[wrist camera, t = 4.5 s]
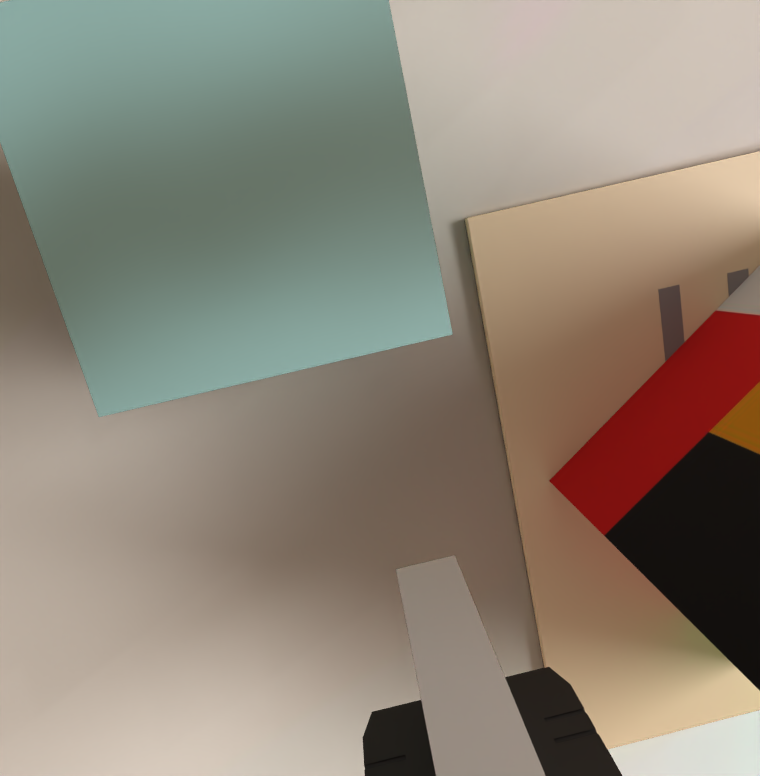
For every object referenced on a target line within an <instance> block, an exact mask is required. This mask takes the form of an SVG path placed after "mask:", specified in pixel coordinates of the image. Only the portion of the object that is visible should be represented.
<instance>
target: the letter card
mask: <svg viewBox="0 0 760 776" xmlns="http://www.w3.org/2000/svg"><path fill="white" fill-rule="evenodd" d="M465 223H466V228H467V234H468V240H469V245H470V251H471V256H472V262H473V268H474V273H475V279H476V285H477V290H478V296H479V302H480V307H481V313H482V319H483V324H484V330H485V336H486V341H487V347H488V353H489V358H490V364H491V369H492V375H493V381H494V386H495V392H496V398H497V403H498V409H499V415H500V420H501V426H502V432H503V437H504V443H505V449H506V454H507V460H508V465H509V471H510V477H511V482H512V488H513V494H514V499H515V505H516V511H517V516H518V522H519V528H520V533H521V539H522V545H523V550H524V556H525V561H526V567H527V573H528V578H529V584H530V590H531V595H532V601H533V607H534V612H535V618H536V624H537V629H538V635H539V641H540V646H541V652H542V658H543V663H544V668H546V667H550V668H551V669H552V670H554V671H555V672H556V673H557V674H559V675H560V676H561V677H562V678H564V679H565V680H566V681H567V682H568V683H570V684H571V686H572V688H573V689H574V691H575V693H576V695H577V696H578V698H579V700H580V702H581V703H582V705H583V707H584V710H585V712H586V713H587V714H588V716H589V718H590V719H591V721H592V723H593V725H594V727H595V728H596V732H597V734H599V735H600V737H601V739H602V741H603V742H604V744H605V746H606V748H607V749H611V748H615V747H618V746H622V745H626V744H630V743H634V742H638V741H642V740H646V739H649V738H653V737H657V736H661V735H665V734H669V733H673V732H676V731H680V730H684V729H688V728H692V727H696V726H700V725H704V724H707V723H711V722H715V721H719V720H723V719H727V718H731V717H734V716H738V715H742V714H746V713H750V712H754V711H758V710H760V691H759V690H758V689H757V688H756V687H755V686H754V685H753V684H752V683H751V682H750V681H749V680H748V679H747V678H746V677H745V676H744V675H743V674H742V673H741V672H740V671H739V670H738V669H737V668H736V667H735V666H734V665H733V664H732V663H731V662H730V661H729V660H728V659H727V658H726V657H725V656H724V655H723V654H722V653H721V652H720V651H719V650H718V649H717V648H716V647H715V646H714V645H713V644H712V643H711V642H710V641H709V640H708V639H707V638H706V637H705V636H704V635H703V634H702V633H701V632H700V631H699V630H698V629H697V628H696V627H695V626H694V625H693V624H692V623H691V622H690V621H689V620H688V619H687V618H686V617H685V616H684V615H683V614H682V613H681V612H680V611H679V610H678V609H677V608H676V607H675V606H674V605H673V604H672V603H671V602H670V601H669V600H668V599H667V598H666V597H665V596H664V595H663V594H662V593H661V592H660V591H659V590H658V589H657V588H656V587H655V586H654V585H653V584H652V583H651V582H650V581H649V580H648V579H647V578H646V577H645V576H644V575H643V574H642V573H641V572H640V571H639V570H638V569H637V568H636V567H635V566H634V565H633V564H632V563H631V562H630V561H629V560H628V559H627V558H626V557H625V556H624V555H623V554H622V553H621V552H620V551H619V550H618V549H617V548H616V547H615V546H614V545H613V544H612V543H611V542H610V541H609V540H608V539H607V538H606V537H605V536H604V535H603V534H602V533H601V532H600V531H599V530H598V529H597V528H596V527H595V526H594V525H593V524H592V523H591V522H590V521H589V520H588V519H587V518H586V517H585V516H584V515H583V514H582V513H581V512H580V511H579V510H578V509H577V508H576V507H575V506H574V505H573V504H572V503H571V502H570V501H569V500H568V499H567V498H566V497H565V496H564V495H563V494H562V493H561V492H560V491H559V490H558V489H557V488H556V487H555V486H554V485H553V484H552V483H551V482H550V481H549V480H550V479H551V478H552V477H553V476H554V475H555V474H556V473H557V472H558V471H559V470H560V469H561V468H562V467H563V466H564V465H565V464H566V463H567V462H568V461H569V460H570V459H571V458H572V457H573V456H574V455H575V454H576V453H577V452H578V451H579V450H580V449H581V448H582V447H583V446H584V445H585V444H586V442H587V441H588V440H589V439H590V438H591V437H592V436H593V435H594V434H595V433H596V432H597V431H598V430H599V429H600V428H601V427H602V426H603V425H604V424H605V423H606V422H607V421H608V420H609V419H610V418H611V417H612V416H613V415H614V414H615V413H616V412H617V411H618V410H619V409H620V408H621V407H622V406H623V405H624V404H625V403H626V402H627V400H628V399H629V398H630V397H631V396H632V395H633V394H634V393H635V392H636V391H637V390H638V389H639V388H640V387H641V386H642V385H643V384H644V383H645V382H646V381H647V380H648V379H649V378H650V377H651V376H652V375H653V374H654V373H655V372H656V371H657V370H658V369H659V368H660V367H661V366H662V365H663V364H664V363H665V362H666V361H667V360H668V359H669V357H670V356H671V355H672V354H673V353H674V352H675V351H676V350H677V349H678V348H679V347H680V346H681V345H682V344H683V343H684V342H685V341H686V340H687V339H688V338H689V337H690V336H691V335H692V334H693V333H694V332H695V331H696V330H697V329H698V328H699V327H700V326H701V325H702V324H703V323H704V322H705V321H706V320H707V319H708V318H709V317H710V315H711V314H712V313H713V312H714V311H715V310H716V309H717V308H718V307H719V306H720V305H721V304H722V303H723V302H724V301H725V300H726V299H727V298H728V297H729V296H730V295H731V294H732V293H733V292H734V291H735V290H736V289H737V288H738V287H739V286H740V285H741V284H742V283H743V282H744V281H745V280H746V279H747V278H748V277H749V276H750V275H751V274H752V272H753V271H754V270H755V269H756V268H757V267H758V266H759V265H760V151H759V152H754V153H750V154H745V155H741V156H737V157H732V158H728V159H723V160H719V161H715V162H710V163H706V164H701V165H697V166H693V167H688V168H684V169H679V170H675V171H671V172H666V173H662V174H657V175H653V176H649V177H644V178H640V179H636V180H631V181H627V182H622V183H618V184H614V185H609V186H605V187H600V188H596V189H592V190H587V191H583V192H578V193H574V194H570V195H565V196H561V197H556V198H552V199H548V200H543V201H539V202H535V203H530V204H526V205H521V206H517V207H513V208H508V209H504V210H499V211H495V212H491V213H486V214H482V215H477V216H473V217H469V218H466V219H465Z"/></svg>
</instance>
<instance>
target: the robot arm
mask: <svg viewBox="0 0 760 776" xmlns="http://www.w3.org/2000/svg"><path fill="white" fill-rule="evenodd" d="M396 573H397V578H398V583H399V588H400V594H401V599H402V604H403V609H404V614H405V619H406V624H407V629H408V635H409V640H410V645H411V650H412V655H413V660H414V665H415V670H416V676H417V681H418V686H419V691H420V696H421V700H419V701H415V702H411V703H407V704H403V705H399V706H395V707H390V708H386V709H382V710H378V711H374V712H372V714H371V716H370V719H369V722H368V725H367V727H366V730H365V733H364V736H363V750H364V766H365V776H622V774H621V773H620V771H619V769H618V767H617V766H616V764H615V762H614V760H613V758H612V757H611V755H610V753H609V751H608V750H607V748H606V746H605V744H604V742H603V741H602V739H601V737H600V735H599V734H597V732H596V728H595V727H594V725H593V723H592V721H591V719H590V718H589V716H588V714H587V713H586V712H585V710H584V707H583V705H582V703H581V702H580V700H579V698H578V696H577V695H576V693H575V691H574V689H573V688H572V686H571V684H570V683H568V682H567V681H566V680H565V679H564V678H562V677H561V676H560V675H559V674H557V673H556V672H555V671H554V670H552V669H551V668H550V667H546V668H542V669H538V670H534V671H529V672H525V673H521V674H517V675H513V676H509V677H505V676H504V674H503V671H502V669H501V666H500V664H499V662H498V659H497V657H496V654H495V652H494V649H493V647H492V645H491V642H490V640H489V637H488V635H487V632H486V630H485V628H484V625H483V623H482V620H481V618H480V615H479V613H478V611H477V608H476V606H475V603H474V601H473V599H472V596H471V594H470V591H469V589H468V586H467V584H466V582H465V579H464V577H463V574H462V572H461V569H460V567H459V565H458V562H457V560H456V557H455V555H453V556H449V557H445V558H441V559H437V560H432V561H428V562H424V563H420V564H416V565H411V566H407V567H403V568H399V569H396Z"/></svg>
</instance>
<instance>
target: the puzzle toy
mask: <svg viewBox="0 0 760 776" xmlns="http://www.w3.org/2000/svg"><path fill="white" fill-rule="evenodd" d="M549 481H550V482H551V483H552V484H553V485H554V486H555V487H556V488H557V489H558V490H559V491H560V492H561V493H562V494H563V495H564V496H565V497H566V498H567V499H568V500H569V501H570V502H571V503H572V504H573V505H574V506H575V507H576V508H577V509H578V510H579V511H580V512H581V513H582V514H583V515H584V516H585V517H586V518H587V519H588V520H589V521H590V522H591V523H592V524H593V525H594V526H595V527H596V528H597V529H598V530H599V531H600V532H601V533H602V534H603V535H604V536H605V537H606V538H607V539H608V540H609V541H610V542H611V543H612V544H613V545H614V546H615V547H616V548H617V549H618V550H619V551H620V552H621V553H622V554H623V555H624V556H625V557H626V558H627V559H628V560H629V561H630V562H631V563H632V564H633V565H634V566H635V567H636V568H637V569H638V570H639V571H640V572H641V573H642V574H643V575H644V576H645V577H646V578H647V579H648V580H649V581H650V582H651V583H652V584H653V585H654V586H655V587H656V588H657V589H658V590H659V591H660V592H661V593H662V594H663V595H664V596H665V597H666V598H667V599H668V600H669V601H670V602H671V603H672V604H673V605H674V606H675V607H676V608H677V609H678V610H679V611H680V612H681V613H682V614H683V615H684V616H685V617H686V618H687V619H688V620H689V621H690V622H691V623H692V624H693V625H694V626H695V627H696V628H697V629H698V630H699V631H700V632H701V633H702V634H703V635H704V636H705V637H706V638H707V639H708V640H709V641H710V642H711V643H712V644H713V645H714V646H715V647H716V648H717V649H718V650H719V651H720V652H721V653H722V654H723V655H724V656H725V657H726V658H727V659H728V660H729V661H730V662H731V663H732V664H733V665H734V666H735V667H736V668H737V669H738V670H739V671H740V672H741V673H742V674H743V675H744V676H745V677H746V678H747V679H748V680H749V681H750V682H751V683H752V684H753V685H754V686H755V687H756V688H757V689H758V690H759V691H760V265H759V266H758V267H757V268H756V269H755V270H754V271H753V272H752V274H751V275H750V276H749V277H748V278H747V279H746V280H745V281H744V282H743V283H742V284H741V285H740V286H739V287H738V288H737V289H736V290H735V291H734V292H733V293H732V294H731V295H730V296H729V297H728V298H727V299H726V300H725V301H724V302H723V303H722V304H721V305H720V306H719V307H718V308H717V309H716V310H715V311H714V312H713V313H712V314H711V315H710V317H709V318H708V319H707V320H706V321H705V322H704V323H703V324H702V325H701V326H700V327H699V328H698V329H697V330H696V331H695V332H694V333H693V334H692V335H691V336H690V337H689V338H688V339H687V340H686V341H685V342H684V343H683V344H682V345H681V346H680V347H679V348H678V349H677V350H676V351H675V352H674V353H673V354H672V355H671V356H670V357H669V359H668V360H667V361H666V362H665V363H664V364H663V365H662V366H661V367H660V368H659V369H658V370H657V371H656V372H655V373H654V374H653V375H652V376H651V377H650V378H649V379H648V380H647V381H646V382H645V383H644V384H643V385H642V386H641V387H640V388H639V389H638V390H637V391H636V392H635V393H634V394H633V395H632V396H631V397H630V398H629V399H628V400H627V402H626V403H625V404H624V405H623V406H622V407H621V408H620V409H619V410H618V411H617V412H616V413H615V414H614V415H613V416H612V417H611V418H610V419H609V420H608V421H607V422H606V423H605V424H604V425H603V426H602V427H601V428H600V429H599V430H598V431H597V432H596V433H595V434H594V435H593V436H592V437H591V438H590V439H589V440H588V441H587V442H586V444H585V445H584V446H583V447H582V448H581V449H580V450H579V451H578V452H577V453H576V454H575V455H574V456H573V457H572V458H571V459H570V460H569V461H568V462H567V463H566V464H565V465H564V466H563V467H562V468H561V469H560V470H559V471H558V472H557V473H556V474H555V475H554V476H553V477H552V478H551V479H550V480H549Z"/></svg>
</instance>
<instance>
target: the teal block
mask: <svg viewBox="0 0 760 776" xmlns="http://www.w3.org/2000/svg"><path fill="white" fill-rule="evenodd" d="M0 143H1V146H2V149H3V151H4V154H5V157H6V160H7V163H8V165H9V168H10V171H11V174H12V177H13V179H14V182H15V185H16V188H17V190H18V193H19V196H20V199H21V202H22V204H23V207H24V210H25V213H26V215H27V218H28V221H29V224H30V227H31V229H32V232H33V235H34V238H35V241H36V243H37V246H38V249H39V252H40V254H41V257H42V260H43V263H44V266H45V268H46V271H47V274H48V277H49V279H50V282H51V285H52V288H53V291H54V293H55V296H56V299H57V302H58V305H59V307H60V310H61V313H62V316H63V318H64V321H65V324H66V327H67V330H68V332H69V335H70V338H71V341H72V343H73V346H74V349H75V352H76V355H77V357H78V360H79V363H80V366H81V369H82V371H83V374H84V377H85V380H86V382H87V385H88V388H89V391H90V394H91V396H92V399H93V402H94V405H95V407H96V410H97V413H98V416H99V417H102V416H106V415H110V414H114V413H119V412H123V411H127V410H132V409H136V408H140V407H144V406H149V405H153V404H157V403H162V402H166V401H170V400H174V399H179V398H183V397H187V396H192V395H196V394H200V393H204V392H209V391H213V390H217V389H221V388H226V387H230V386H234V385H239V384H243V383H247V382H251V381H256V380H260V379H264V378H269V377H273V376H277V375H281V374H286V373H290V372H294V371H299V370H303V369H307V368H311V367H316V366H320V365H324V364H329V363H333V362H337V361H341V360H346V359H350V358H354V357H358V356H363V355H367V354H371V353H376V352H380V351H384V350H388V349H393V348H397V347H401V346H406V345H410V344H414V343H418V342H423V341H427V340H431V339H436V338H440V337H444V336H448V335H453V334H452V329H451V323H450V318H449V313H448V308H447V302H446V297H445V292H444V287H443V282H442V276H441V271H440V266H439V261H438V255H437V250H436V245H435V240H434V235H433V229H432V224H431V219H430V214H429V208H428V203H427V198H426V193H425V188H424V182H423V177H422V172H421V167H420V161H419V156H418V151H417V146H416V141H415V135H414V130H413V125H412V120H411V114H410V109H409V104H408V99H407V94H406V88H405V83H404V78H403V73H402V67H401V62H400V57H399V52H398V47H397V41H396V36H395V31H394V26H393V20H392V15H391V10H390V5H389V0H10V1H5V2H0Z"/></svg>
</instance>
